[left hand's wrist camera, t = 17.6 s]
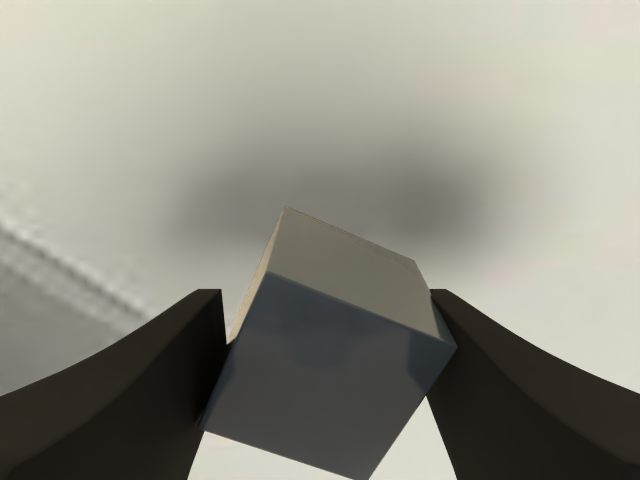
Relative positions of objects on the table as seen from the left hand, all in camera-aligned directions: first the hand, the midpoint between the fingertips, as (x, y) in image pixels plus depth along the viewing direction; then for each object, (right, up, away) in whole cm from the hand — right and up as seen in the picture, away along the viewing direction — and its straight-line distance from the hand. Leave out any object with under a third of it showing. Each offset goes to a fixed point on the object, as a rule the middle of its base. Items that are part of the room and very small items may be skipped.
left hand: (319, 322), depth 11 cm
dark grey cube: (0, +1, +1) cm, 1 cm away
